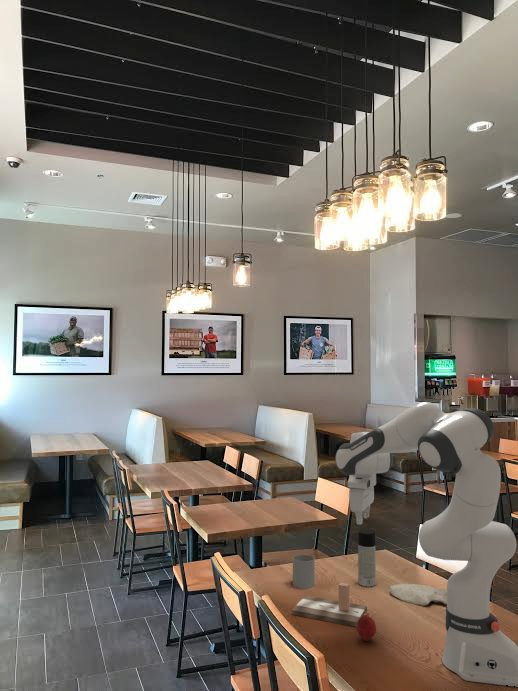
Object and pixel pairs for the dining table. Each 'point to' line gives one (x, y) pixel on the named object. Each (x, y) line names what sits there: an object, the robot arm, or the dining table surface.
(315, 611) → the board with dashed strip
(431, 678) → the dining table surface
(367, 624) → the onion
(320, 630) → the dining table surface
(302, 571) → the cup
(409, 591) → the fragment
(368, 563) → the spray can
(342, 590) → the stub
